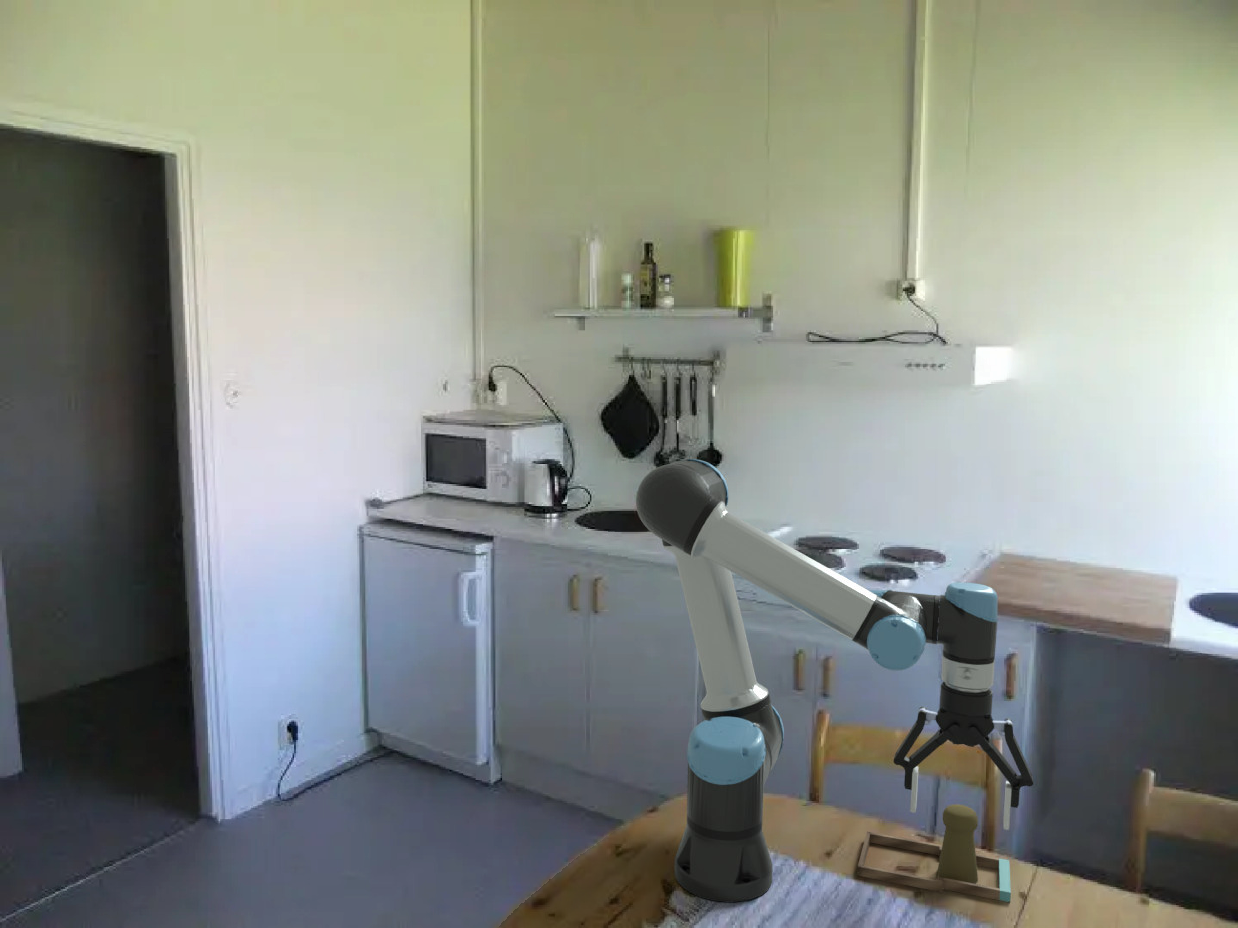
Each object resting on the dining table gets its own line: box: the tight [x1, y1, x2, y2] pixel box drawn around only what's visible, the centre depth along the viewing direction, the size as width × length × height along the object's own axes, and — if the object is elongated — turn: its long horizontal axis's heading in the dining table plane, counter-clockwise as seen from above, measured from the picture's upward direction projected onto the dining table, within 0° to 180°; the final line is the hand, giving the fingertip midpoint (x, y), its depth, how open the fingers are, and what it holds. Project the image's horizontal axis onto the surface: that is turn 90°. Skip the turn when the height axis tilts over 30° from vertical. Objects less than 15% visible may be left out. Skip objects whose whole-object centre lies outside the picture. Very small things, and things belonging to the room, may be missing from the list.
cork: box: [936, 803, 979, 884], centre depth 147 cm, size 6×6×11 cm
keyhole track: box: [857, 831, 1012, 903], centre depth 149 cm, size 22×12×2 cm, turn 69°
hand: (958, 817), depth 147 cm, fingers open, 13 cm apart
